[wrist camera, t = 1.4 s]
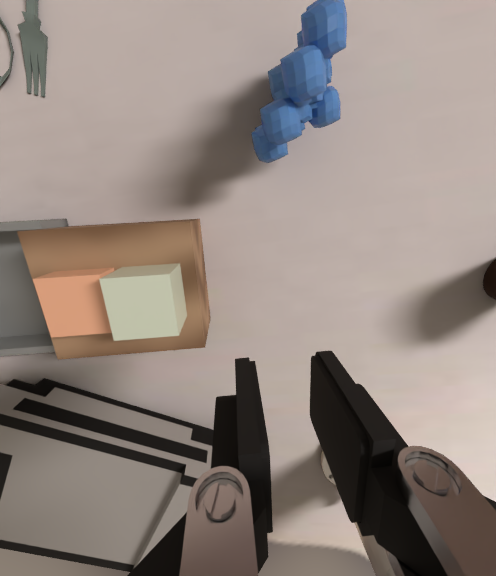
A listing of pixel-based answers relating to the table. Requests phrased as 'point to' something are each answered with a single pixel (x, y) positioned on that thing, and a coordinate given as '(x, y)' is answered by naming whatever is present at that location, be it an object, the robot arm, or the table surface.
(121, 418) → the game console
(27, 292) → the bin
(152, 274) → the sage block
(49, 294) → the terracotta block
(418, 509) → the robot arm
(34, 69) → the cutlery set
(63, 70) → the table surface
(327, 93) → the grapes
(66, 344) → the brown box
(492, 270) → the coffee mug
